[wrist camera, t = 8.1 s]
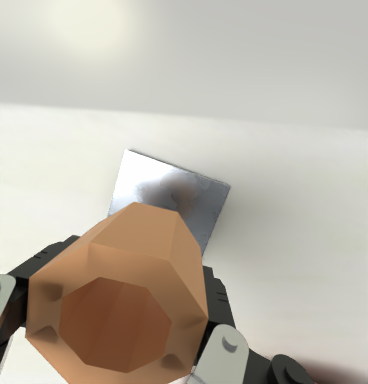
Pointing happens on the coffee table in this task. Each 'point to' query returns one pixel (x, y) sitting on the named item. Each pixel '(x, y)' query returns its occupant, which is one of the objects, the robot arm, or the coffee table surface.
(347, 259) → the coffee table surface
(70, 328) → the collar
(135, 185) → the silver peg on base
